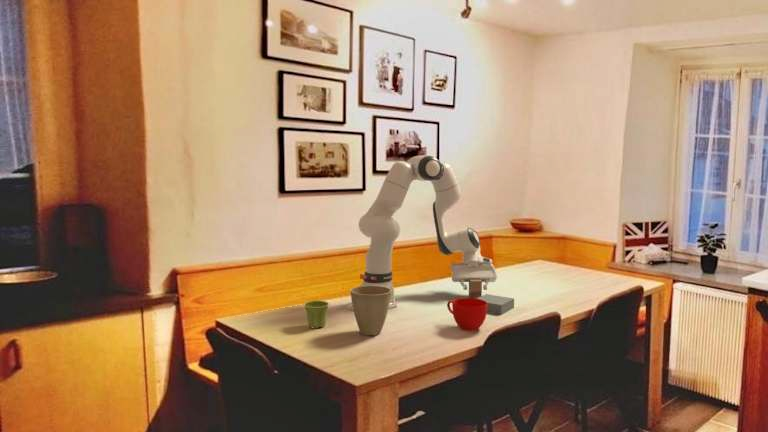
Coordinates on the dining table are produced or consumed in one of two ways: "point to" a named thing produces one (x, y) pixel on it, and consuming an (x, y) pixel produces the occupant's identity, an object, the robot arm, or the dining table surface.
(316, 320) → the plant pot
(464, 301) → the ceramic cup
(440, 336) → the dining table surface
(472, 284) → the walnut post
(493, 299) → the charcoal plinth
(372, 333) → the plant pot
